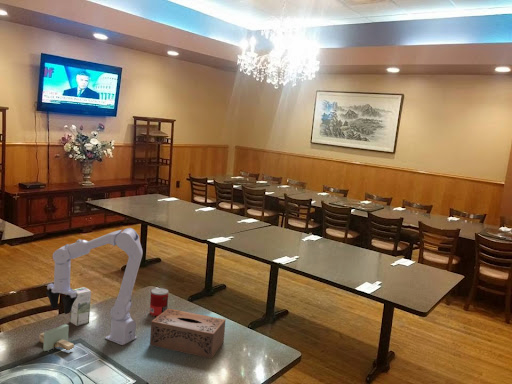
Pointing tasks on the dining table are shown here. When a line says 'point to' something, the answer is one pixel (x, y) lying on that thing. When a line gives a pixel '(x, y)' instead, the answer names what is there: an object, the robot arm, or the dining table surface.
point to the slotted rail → (58, 343)
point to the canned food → (158, 301)
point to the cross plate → (55, 336)
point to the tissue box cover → (187, 332)
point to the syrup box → (81, 307)
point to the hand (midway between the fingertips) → (60, 310)
